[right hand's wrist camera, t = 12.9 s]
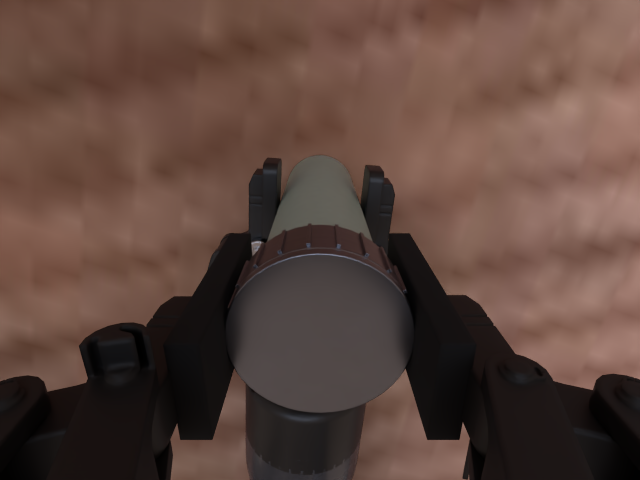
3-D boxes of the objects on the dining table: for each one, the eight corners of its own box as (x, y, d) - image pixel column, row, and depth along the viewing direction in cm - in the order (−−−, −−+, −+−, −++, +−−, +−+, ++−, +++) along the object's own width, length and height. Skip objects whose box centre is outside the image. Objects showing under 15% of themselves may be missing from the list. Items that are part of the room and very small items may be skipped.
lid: (418, 231, 11) (439, 262, 9) (386, 372, 13) (398, 422, 11) (240, 212, 11) (223, 240, 9) (235, 358, 13) (219, 407, 11)
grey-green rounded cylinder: (360, 164, 25) (419, 280, 10) (342, 225, 27) (371, 403, 12) (295, 147, 25) (258, 242, 10) (281, 210, 26) (229, 375, 11)
